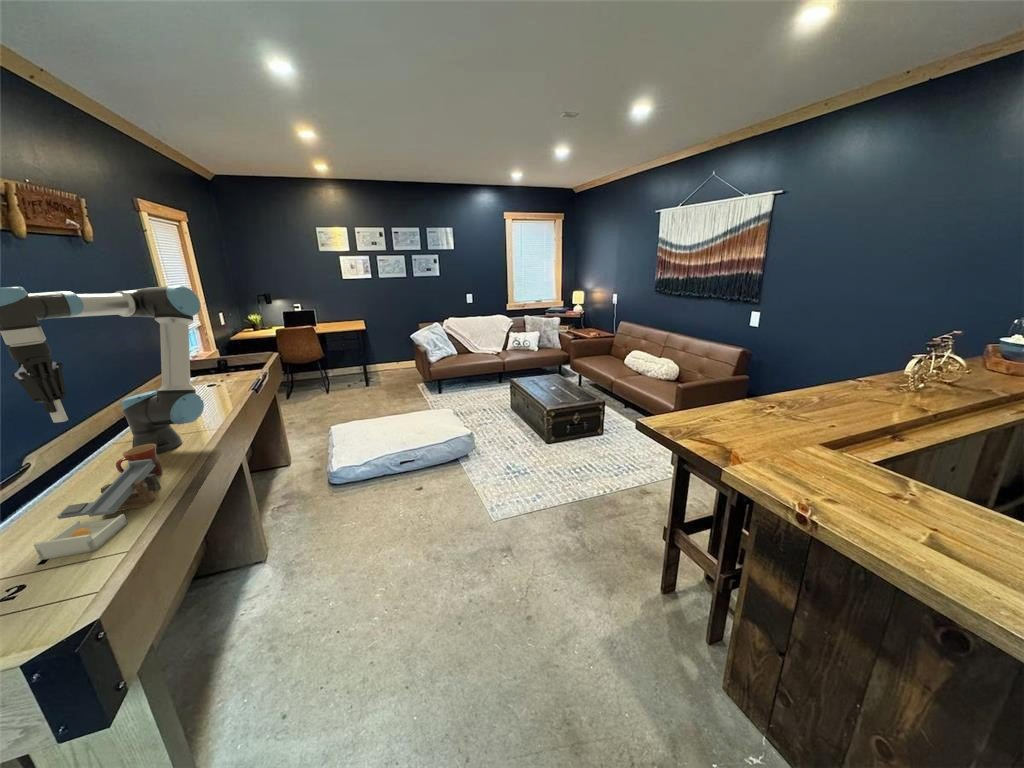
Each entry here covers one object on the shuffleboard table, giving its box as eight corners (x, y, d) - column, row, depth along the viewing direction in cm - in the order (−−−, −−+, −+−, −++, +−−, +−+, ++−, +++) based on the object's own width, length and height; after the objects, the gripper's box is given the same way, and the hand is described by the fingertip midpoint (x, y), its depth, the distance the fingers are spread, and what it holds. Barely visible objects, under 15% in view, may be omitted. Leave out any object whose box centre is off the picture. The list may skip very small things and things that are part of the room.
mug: (152, 469, 143) (143, 443, 140) (172, 469, 141) (162, 443, 138) (115, 487, 132) (103, 459, 129) (135, 488, 130) (124, 460, 127)
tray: (80, 530, 109) (73, 516, 108) (127, 523, 111) (122, 509, 110) (41, 559, 98) (33, 544, 97) (94, 551, 100) (87, 536, 99)
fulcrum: (132, 491, 128) (124, 471, 126) (171, 486, 130) (164, 465, 128) (104, 512, 117) (95, 490, 115) (148, 506, 119) (139, 484, 117)
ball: (70, 528, 102) (65, 542, 101) (85, 526, 103) (80, 539, 101) (81, 530, 105) (76, 544, 104) (96, 528, 106) (91, 541, 104)
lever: (105, 472, 125) (100, 465, 124) (155, 465, 128) (151, 458, 126) (56, 521, 108) (49, 514, 107) (114, 513, 111) (108, 505, 109)
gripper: (33, 340, 117) (65, 415, 124) (-14, 349, 105) (25, 431, 112) (63, 338, 118) (93, 412, 125) (20, 346, 106) (56, 427, 113)
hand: (61, 421), depth 118 cm, fingers closed
